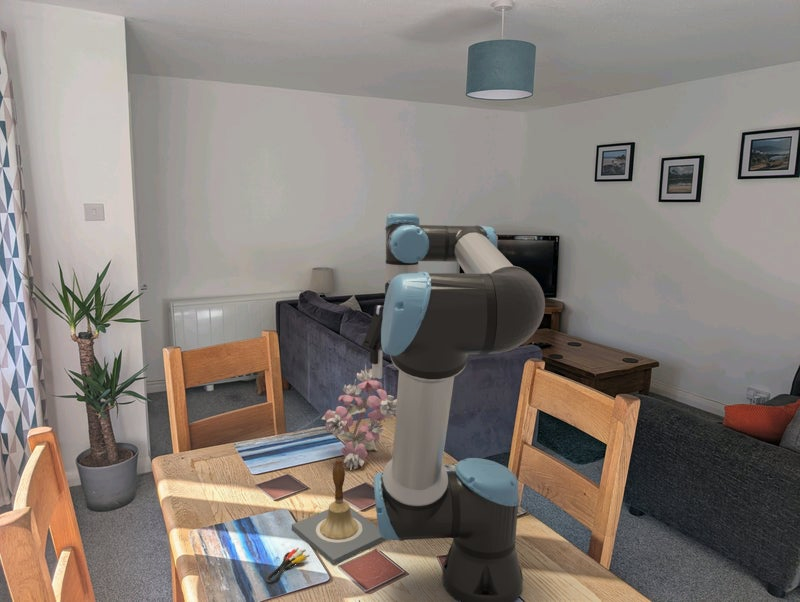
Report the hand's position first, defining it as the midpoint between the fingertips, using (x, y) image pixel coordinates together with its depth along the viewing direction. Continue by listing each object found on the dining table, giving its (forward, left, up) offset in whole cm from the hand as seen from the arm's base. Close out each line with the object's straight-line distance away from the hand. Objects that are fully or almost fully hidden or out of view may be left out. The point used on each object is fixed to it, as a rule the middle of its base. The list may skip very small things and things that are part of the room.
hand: (399, 371), depth 133 cm
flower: (+22, -5, -32) cm, 39 cm away
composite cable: (-7, +35, -32) cm, 48 cm away
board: (-4, +20, -32) cm, 38 cm away
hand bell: (-4, +20, -31) cm, 37 cm away
